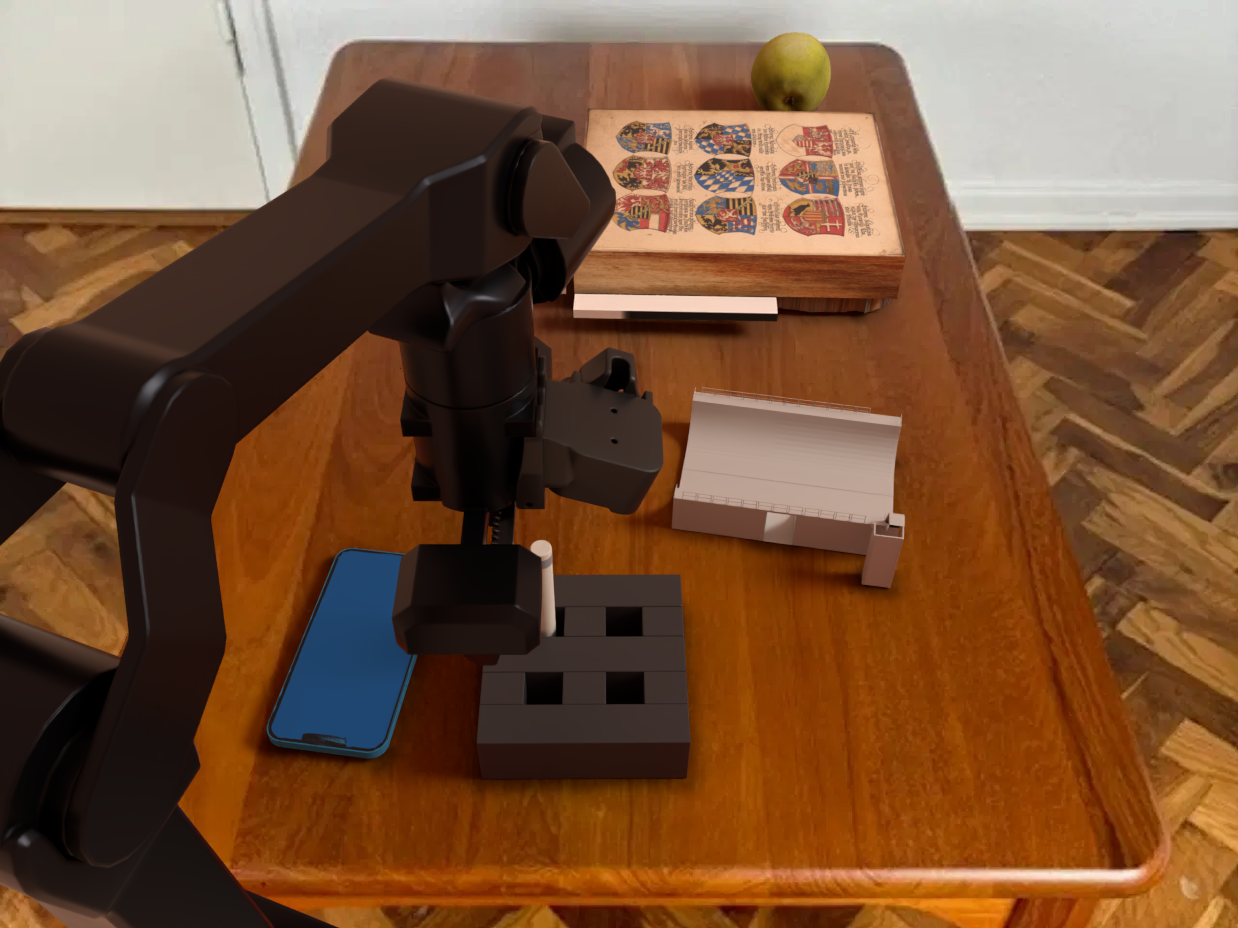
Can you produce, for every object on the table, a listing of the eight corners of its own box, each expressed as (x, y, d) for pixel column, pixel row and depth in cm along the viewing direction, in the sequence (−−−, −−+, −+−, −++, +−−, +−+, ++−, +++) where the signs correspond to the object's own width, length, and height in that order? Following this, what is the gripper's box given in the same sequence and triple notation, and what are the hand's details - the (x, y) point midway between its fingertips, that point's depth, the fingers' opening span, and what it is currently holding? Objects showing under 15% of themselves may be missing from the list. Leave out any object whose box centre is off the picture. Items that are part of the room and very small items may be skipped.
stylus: (552, 670, 74) (545, 559, 66) (534, 663, 75) (525, 551, 67) (561, 655, 75) (555, 543, 67) (543, 648, 75) (536, 536, 67)
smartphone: (446, 558, 79) (383, 754, 69) (447, 567, 80) (385, 763, 70) (338, 545, 80) (260, 738, 70) (341, 555, 81) (263, 747, 70)
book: (549, 336, 97) (897, 343, 96) (545, 272, 92) (910, 279, 91) (569, 168, 114) (864, 173, 113) (566, 108, 109) (874, 112, 108)
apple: (825, 93, 123) (835, 18, 118) (825, 139, 117) (836, 63, 111) (749, 88, 124) (756, 13, 118) (745, 134, 118) (752, 58, 112)
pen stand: (687, 778, 69) (690, 742, 66) (481, 779, 69) (476, 743, 66) (678, 612, 78) (680, 573, 75) (494, 612, 77) (490, 574, 74)
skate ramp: (894, 448, 88) (906, 397, 84) (890, 589, 79) (904, 539, 75) (691, 422, 90) (695, 371, 86) (666, 557, 81) (668, 507, 77)
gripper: (663, 527, 45) (650, 746, 56) (650, 240, 58) (641, 464, 69) (368, 526, 45) (413, 746, 56) (421, 239, 58) (449, 463, 69)
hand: (492, 590), depth 63 cm, fingers open, 9 cm apart
